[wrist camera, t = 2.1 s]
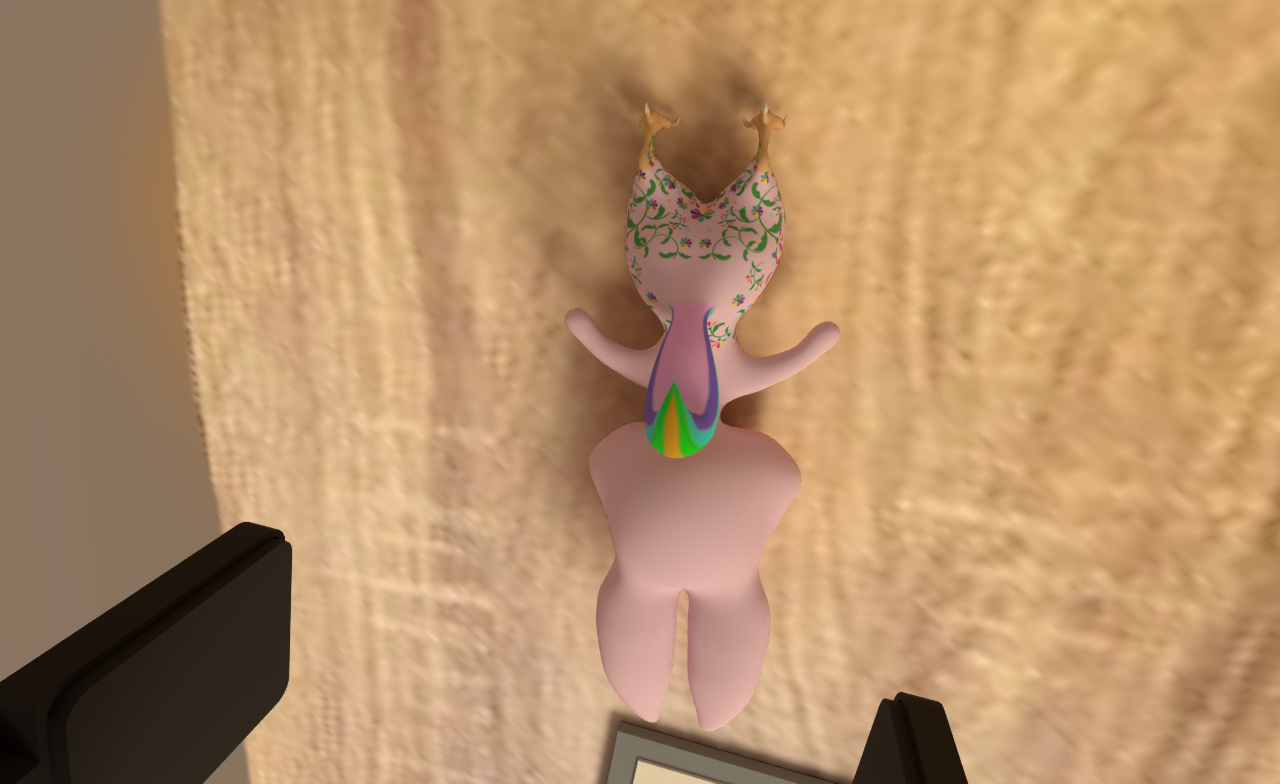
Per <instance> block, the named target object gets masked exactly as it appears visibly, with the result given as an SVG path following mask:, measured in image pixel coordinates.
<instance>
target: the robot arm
mask: <svg viewBox="0 0 1280 784" xmlns="http://www.w3.org/2000/svg"><path fill="white" fill-rule="evenodd" d="M291 579H292V546H291V544H290V543H289V542H287V541H285V536H284V534H283V532H282V531H280V530H278V529H274V528H270V527H266V526H263V525H259V524H255V523H251V522H242V523H240V524H238V525H236V526H235V527H233V528H232V529H230V530H229V531H227V532H226V533H224V534H223V535H221V536H220V537H218V538H217V539H216V540H214V541H212V542H211V543H209V544H208V545H206V546H205V547H203V548H202V549H201V550H199V551H197V552H196V553H194V554H193V555H191V556H190V557H188V558H187V559H185V560H184V561H182V562H181V563H179V564H178V565H176V566H175V567H173V568H172V569H170V570H169V571H167V572H165V573H164V574H163V575H161V576H159V577H158V578H156V579H155V580H154V581H152V582H151V583H149V584H147V585H146V586H144V587H143V588H141V589H140V590H138V591H137V592H135V593H134V594H132V595H131V596H129V597H128V598H126V599H125V600H123V601H122V602H120V603H119V604H117V605H116V606H115V607H113V608H111V609H110V610H108V611H107V612H105V613H104V614H102V615H101V616H99V617H98V618H96V619H95V620H93V621H92V622H90V623H88V624H87V625H85V626H84V627H82V628H81V629H79V630H78V631H77V632H75V633H73V634H72V635H70V636H69V637H67V638H66V639H64V640H63V641H61V642H60V643H58V644H57V645H55V646H54V647H52V648H51V649H49V650H48V651H46V652H45V653H43V654H42V655H40V656H39V657H37V658H36V659H34V660H33V661H31V662H30V663H28V664H27V665H25V666H24V667H22V668H21V669H19V670H18V671H16V672H15V673H13V674H11V675H10V676H9V677H7V678H6V679H4V680H2V681H1V682H0V784H203V783H204V782H205V781H206V780H207V778H208V777H209V776H210V775H211V774H212V773H213V772H214V771H215V770H216V769H217V768H218V767H219V766H220V765H221V763H222V762H223V761H224V760H225V759H226V758H227V757H228V756H229V755H230V754H231V753H232V752H233V751H234V749H235V748H236V747H237V746H238V745H239V744H240V743H241V742H242V741H243V740H244V739H245V738H246V737H247V735H248V734H249V733H250V732H251V731H252V730H253V729H254V728H255V727H256V726H257V725H258V724H259V723H260V721H261V720H262V719H263V718H264V717H265V716H266V715H267V714H268V713H269V712H270V711H271V710H272V709H273V707H274V706H275V705H276V704H277V703H278V702H279V701H280V699H281V698H282V696H283V694H284V692H285V690H286V688H287V685H288V681H289V661H290V620H291ZM852 784H968V782H967V779H966V776H965V773H964V769H963V766H962V763H961V760H960V757H959V754H958V751H957V748H956V744H955V741H954V738H953V735H952V732H951V729H950V726H949V723H948V720H947V716H946V713H945V710H944V708H943V706H942V704H941V703H940V702H938V701H934V700H930V699H927V698H923V697H919V696H915V695H911V694H907V693H904V692H899V693H898V694H897V695H896V696H895V699H894V701H893V700H889V699H883V700H882V701H881V703H880V706H879V708H878V711H877V714H876V717H875V720H874V723H873V725H872V728H871V731H870V734H869V737H868V740H867V743H866V745H865V748H864V751H863V754H862V757H861V760H860V763H859V766H858V768H857V771H856V774H855V777H854V780H853V783H852Z"/></svg>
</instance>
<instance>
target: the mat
mask: <svg viewBox="0 0 1280 784" xmlns="http://www.w3.org/2000/svg"><path fill="white" fill-rule="evenodd" d="M607 784H835V783H831V782H828V781H824V780H821V779H818V778H814V777H811V776H807V775H804V774H800V773H797V772H793V771H790V770H787V769H783V768H780V767H776V766H773V765H769V764H766V763H762V762H759V761H755V760H752V759H749V758H745V757H742V756H738V755H735V754H731V753H728V752H724V751H721V750H718V749H714V748H711V747H707V746H704V745H700V744H697V743H693V742H690V741H687V740H683V739H680V738H676V737H673V736H669V735H666V734H662V733H659V732H656V731H652V730H649V729H645V728H642V727H638V726H635V725H631V724H628V723H625V722H620V725H619V729H618V732H617V737H616V742H615V747H614V752H613V757H612V761H611V766H610V771H609V776H608V781H607Z"/></svg>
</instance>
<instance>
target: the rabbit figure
mask: <svg viewBox="0 0 1280 784" xmlns="http://www.w3.org/2000/svg"><path fill="white" fill-rule="evenodd" d="M644 111H645V114H646V115H645V116H643V117H642V118H641V116H640V121H639V124H640V125H639V127H640V128H643V129H644V144H643V147H642V150H641V152H640V155H639V158H638V167H639V169H638V171H637V174H636V177H635V180H634V184H633V188H632V191H631V195H630V199H629V203H628V209H627V217H626V229H625V254H626V261H627V265H628V268H629V271H630V274H631V276H632V279H633V281H634V284H635V286H636V288H637V290H638V292H639V294H640V296H641V297H642V298H643V300H644V301H645V302H646V304H647V305H648V306H649V307H650V308H651V310H652V311H653V312H654V313H655V314H656V315H657V317H658V318H659V319H660V321H661V323H662V324H663V327H664V333H663V335H662V337H661V339H660V340H659V341H658V342H657V343H656V344H655V345H654V346H653V347H651V348H649V349H644V350H636V349H632V348H628V347H626V346H623V345H621V344H619V343H617V342H615V341H613V340H611V339H609V338H608V337H606V336H605V335H604V334H603V333H602V332H601V331H600V330H599V329H598V327H597V326H596V325H595V323H594V321H593V320H592V318H591V317H590V316H589V315H588V314H587V313H586V312H585V311H583V310H581V309H576V308H575V309H572V310H570V311H569V312H568V313H567V314H566V316H565V323H566V326H567V328H568V329H569V330H570V331H571V333H572V334H573V335H574V336H575V337H576V338H577V339H578V340H579V341H580V342H581V343H582V344H583V345H584V346H585V347H586V348H587V349H588V350H589V351H590V352H591V353H592V354H593V355H594V356H595V357H597V358H598V359H599V360H600V361H601V362H603V363H604V364H605V365H607V366H608V367H610V368H612V369H613V370H615V371H616V372H618V373H619V374H621V375H623V376H624V377H626V378H627V379H629V380H631V381H633V382H634V383H636V384H638V385H640V386H643V387H645V388H647V394H646V401H645V421H639V422H633V423H629V424H626V425H623V426H621V427H619V428H618V429H616V430H614V431H613V432H612V433H610V434H609V435H608V436H607V437H605V438H604V439H603V440H602V441H601V442H600V443H599V444H598V445H597V446H596V447H595V448H594V450H593V451H592V453H591V454H590V458H589V470H590V474H591V476H592V479H593V481H594V484H595V486H596V489H597V491H598V493H599V496H600V498H601V501H602V503H603V506H604V509H605V512H606V514H607V517H608V521H609V526H610V532H611V537H612V541H613V545H614V549H615V560H614V563H613V565H612V567H611V569H610V571H609V572H608V574H607V576H606V577H605V579H604V581H603V583H602V585H601V587H600V590H599V594H598V599H597V609H596V626H597V635H598V642H599V648H600V654H601V660H602V664H603V668H604V671H605V673H606V676H607V678H608V680H609V682H610V684H611V686H612V687H613V689H614V690H615V692H616V693H617V694H618V696H619V697H620V698H621V699H622V700H623V702H624V703H625V704H626V705H627V706H628V707H629V708H630V709H631V710H632V711H634V712H635V713H636V714H637V715H638V716H640V717H641V718H642V719H644V720H646V721H648V722H652V723H653V722H656V721H657V720H658V718H659V715H660V711H661V707H662V704H663V700H664V697H665V695H666V692H667V689H668V686H669V682H670V677H671V671H672V665H673V655H674V645H675V633H676V620H677V601H678V596H679V593H680V591H682V590H685V591H686V592H687V593H688V597H689V610H688V678H689V685H690V690H691V693H692V697H693V700H694V704H695V707H696V711H697V715H698V720H699V724H700V726H701V728H702V729H703V730H705V731H712V730H715V729H718V728H719V727H721V726H723V725H725V724H726V723H728V722H729V721H730V720H731V719H733V718H734V717H735V716H736V715H737V714H738V713H739V712H740V711H741V710H742V709H743V708H744V707H745V705H746V704H747V703H748V701H749V700H750V698H751V696H752V695H753V693H754V690H755V688H756V685H757V683H758V680H759V677H760V673H761V669H762V666H763V663H764V660H765V656H766V652H767V648H768V642H769V634H770V610H769V605H768V601H767V598H766V595H765V592H764V590H763V587H762V584H761V581H760V577H759V562H760V558H761V555H762V552H763V550H764V548H765V546H766V544H767V542H768V540H769V538H770V536H771V535H772V533H773V531H774V529H775V528H776V526H777V524H778V523H779V521H780V519H781V518H782V516H783V515H784V513H785V511H786V510H787V508H788V506H789V505H790V503H791V502H792V500H793V499H794V497H795V495H796V494H797V492H798V490H799V488H800V485H801V472H800V470H799V468H798V466H797V464H796V462H795V461H794V459H793V458H792V457H791V456H790V454H789V453H788V452H787V451H786V450H785V449H784V448H783V447H782V446H781V445H780V444H779V443H778V442H777V441H775V440H774V439H773V438H771V437H769V436H768V435H766V434H764V433H761V432H758V431H755V430H750V429H745V428H739V427H733V426H729V425H726V424H724V423H722V421H721V419H720V413H721V410H722V408H723V407H724V405H725V404H727V403H728V402H730V401H732V400H734V399H736V398H738V397H741V396H744V395H748V394H751V393H755V392H757V391H760V390H763V389H765V388H767V387H769V386H771V385H774V384H776V383H778V382H780V381H783V380H785V379H787V378H789V377H791V376H793V375H795V374H796V373H798V372H799V371H801V370H803V369H804V368H805V367H807V366H808V365H809V364H811V363H812V362H813V361H815V360H816V359H817V358H818V357H820V356H821V355H822V354H823V353H825V352H826V351H827V350H829V349H830V348H831V347H832V346H833V345H834V344H835V343H836V342H837V341H838V339H839V337H840V329H839V327H838V326H837V325H836V324H834V323H832V322H828V321H825V322H822V323H820V324H818V325H817V326H815V327H814V328H813V329H812V330H811V331H810V332H809V334H808V335H807V336H806V337H805V338H804V339H803V340H802V341H801V342H800V343H799V344H798V345H797V346H795V347H794V348H792V349H790V350H788V351H785V352H782V353H779V354H776V355H772V356H767V357H755V356H751V355H749V354H747V353H746V352H745V351H743V349H742V348H741V347H740V345H739V343H738V340H737V338H736V332H735V327H736V323H737V321H738V320H739V319H740V317H741V316H742V315H743V314H744V313H745V312H746V311H747V310H748V309H749V308H750V307H751V306H752V305H753V304H754V303H755V301H756V300H757V299H758V297H759V296H760V294H761V293H762V291H763V290H764V288H765V287H766V285H767V284H768V282H769V280H770V279H771V277H772V275H773V273H774V271H775V269H776V267H777V265H778V262H779V260H780V257H781V253H782V249H783V242H784V234H785V209H784V204H783V201H782V198H781V195H780V192H779V189H778V186H777V183H776V180H775V178H774V175H773V173H772V170H771V167H770V164H769V157H768V152H767V148H768V143H769V139H770V135H771V132H772V131H773V129H776V130H778V129H784V128H785V124H786V117H785V118H784V120H782V119H781V118H780V117H778V116H776V115H774V114H772V112H771V111H770V110H769V109H768V108H767V105H766V102H765V105H764V108H763V110H761V111H760V114H759V115H758V116H757V117H755V118H753V119H752V120H751V122H750V123H749V122H748V121H746V120H745V118H743V123H744V125H745V126H746V127H748V128H750V127H751V128H752V129H754V130H756V129H757V130H758V131H759V148H758V151H757V154H756V156H755V158H754V159H753V160H752V162H751V163H750V164H749V166H748V167H747V168H746V169H745V171H744V172H743V173H742V174H741V175H740V176H739V177H738V178H737V179H735V180H734V181H733V182H732V183H731V184H729V185H728V186H727V187H726V188H725V189H724V190H723V191H722V192H721V193H720V194H719V195H718V196H717V198H716V199H715V200H713V201H712V202H710V203H703V202H701V201H700V200H698V198H697V197H696V196H695V194H694V193H693V192H692V191H691V190H690V189H689V188H688V187H687V186H686V185H684V184H683V183H682V182H680V181H679V180H677V179H676V178H675V177H673V176H672V175H671V174H670V173H668V172H667V171H666V170H665V168H664V167H663V166H662V165H661V163H660V162H659V160H658V159H657V157H656V155H655V153H654V137H655V134H656V133H658V132H660V131H661V130H662V128H664V129H669V128H670V127H676V126H677V125H678V124H679V123H680V118H679V119H678V120H676V121H675V122H674V123H673V122H670V119H669V118H667V117H664V116H662V115H661V114H659V113H657V111H656V110H654V109H652V108H649V107H648V106H647V102H646V104H645V110H644Z"/></svg>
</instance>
